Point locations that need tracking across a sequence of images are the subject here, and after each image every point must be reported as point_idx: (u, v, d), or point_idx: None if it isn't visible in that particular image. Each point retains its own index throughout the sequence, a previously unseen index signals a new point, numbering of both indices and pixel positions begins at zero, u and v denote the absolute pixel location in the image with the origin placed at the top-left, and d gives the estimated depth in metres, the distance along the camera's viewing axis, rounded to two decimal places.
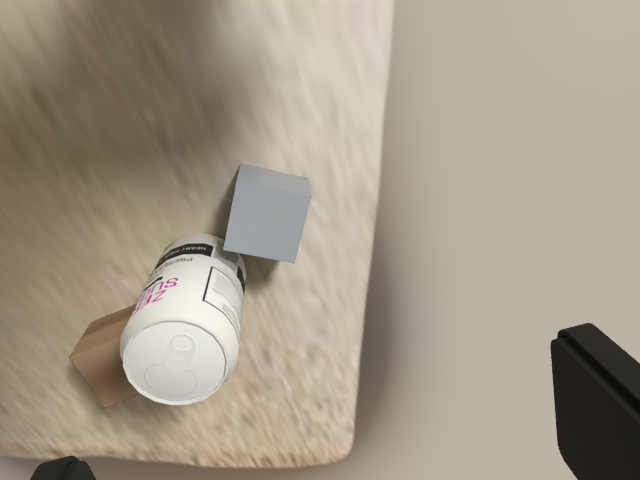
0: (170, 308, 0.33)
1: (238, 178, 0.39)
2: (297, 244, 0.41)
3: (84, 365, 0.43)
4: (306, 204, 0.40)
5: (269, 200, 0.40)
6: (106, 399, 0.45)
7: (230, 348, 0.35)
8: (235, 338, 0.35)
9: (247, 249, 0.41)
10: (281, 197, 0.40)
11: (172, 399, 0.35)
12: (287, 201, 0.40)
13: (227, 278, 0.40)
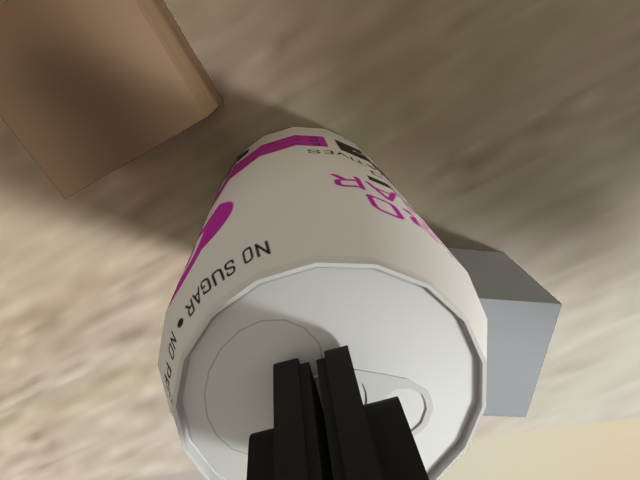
0: (484, 351, 0.12)
1: (552, 298, 0.22)
2: None
3: None
4: (512, 412, 0.23)
5: (523, 358, 0.22)
6: None
7: None
8: None
9: None
10: (526, 375, 0.22)
11: (190, 401, 0.11)
12: (519, 385, 0.23)
13: None
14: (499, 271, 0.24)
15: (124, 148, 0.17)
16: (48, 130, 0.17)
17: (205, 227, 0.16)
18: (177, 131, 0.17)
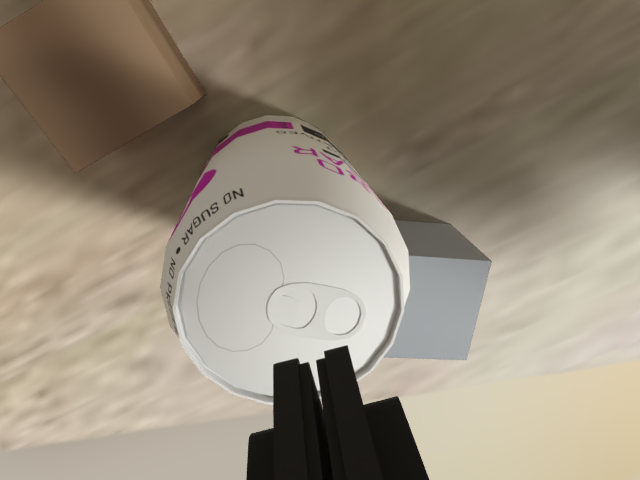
0: (405, 273, 0.16)
1: (485, 257, 0.26)
2: (392, 355, 0.27)
3: (90, 0, 0.19)
4: (454, 356, 0.27)
5: (461, 308, 0.26)
6: (1, 48, 0.20)
7: None
8: None
9: None
10: (465, 323, 0.27)
11: (186, 307, 0.15)
12: (459, 332, 0.27)
13: None
14: (444, 237, 0.28)
15: (124, 130, 0.21)
16: (61, 115, 0.21)
17: (193, 191, 0.19)
18: (168, 116, 0.21)
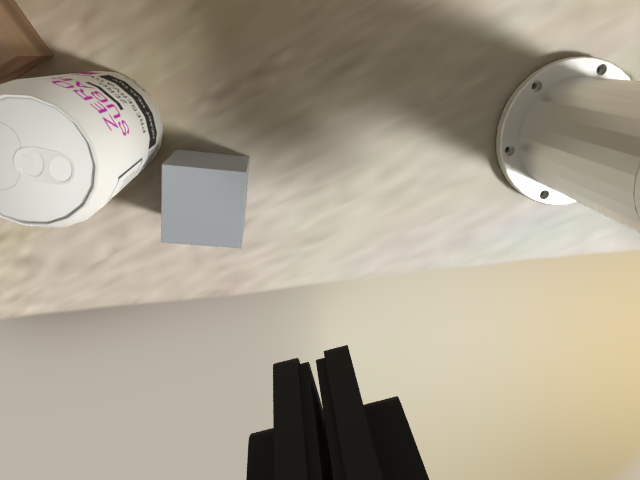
0: (104, 147, 0.27)
1: (246, 171, 0.37)
2: (184, 242, 0.38)
3: None
4: (231, 245, 0.38)
5: (230, 207, 0.37)
6: None
7: (65, 222, 0.28)
8: (76, 222, 0.29)
9: (167, 190, 0.36)
10: (235, 219, 0.38)
11: None
12: (231, 226, 0.38)
13: (132, 178, 0.34)
14: (230, 161, 0.39)
15: None
16: None
17: None
18: (0, 63, 0.32)
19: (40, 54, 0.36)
